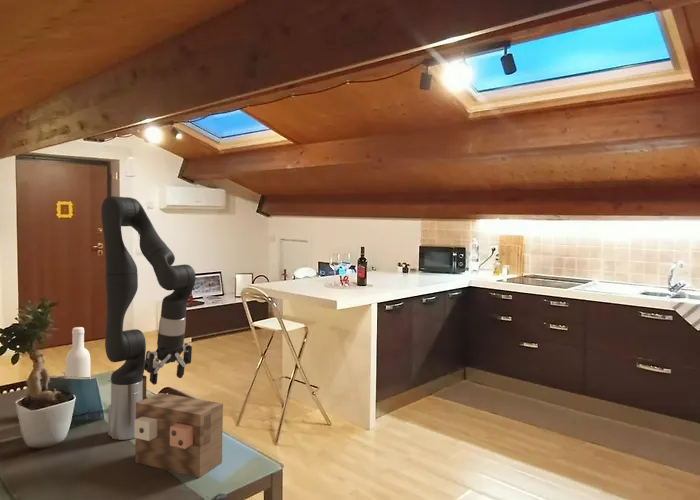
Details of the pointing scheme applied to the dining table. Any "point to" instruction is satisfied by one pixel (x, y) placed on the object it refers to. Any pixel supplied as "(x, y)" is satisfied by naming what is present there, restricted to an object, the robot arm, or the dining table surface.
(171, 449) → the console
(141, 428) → the one dot button
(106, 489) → the dining table surface
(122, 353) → the robot arm
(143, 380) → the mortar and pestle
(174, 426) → the two dot button
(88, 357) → the bottle
